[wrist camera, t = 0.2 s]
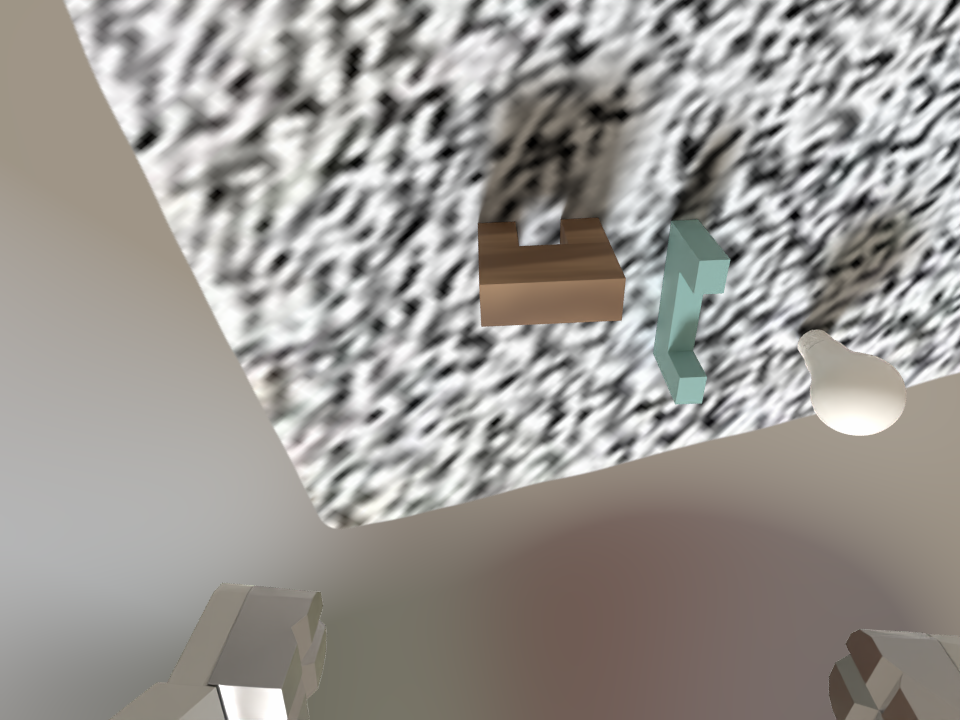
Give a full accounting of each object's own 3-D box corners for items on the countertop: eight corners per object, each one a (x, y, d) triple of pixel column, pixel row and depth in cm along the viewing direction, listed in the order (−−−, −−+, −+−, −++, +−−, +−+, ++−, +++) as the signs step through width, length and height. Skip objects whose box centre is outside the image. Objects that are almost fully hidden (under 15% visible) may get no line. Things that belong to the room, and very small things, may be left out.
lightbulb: (831, 292, 50) (910, 370, 41) (856, 342, 53) (936, 426, 44) (759, 331, 52) (820, 415, 43) (788, 378, 55) (850, 465, 46)
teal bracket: (671, 220, 47) (699, 260, 41) (697, 219, 47) (730, 259, 41) (653, 353, 53) (675, 404, 48) (676, 352, 53) (701, 403, 48)
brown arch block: (477, 223, 47) (479, 284, 38) (598, 217, 47) (625, 278, 38) (479, 259, 48) (481, 326, 40) (595, 254, 48) (621, 320, 40)
